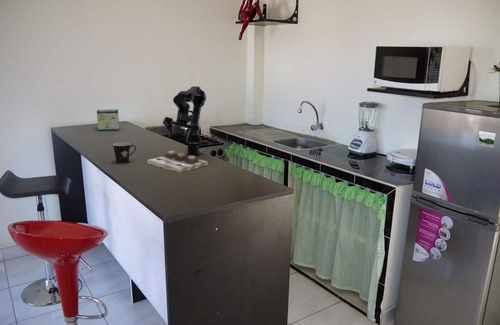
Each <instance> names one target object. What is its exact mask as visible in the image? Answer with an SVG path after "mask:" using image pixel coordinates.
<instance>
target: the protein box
mask: <svg viewBox="0 0 500 325" xmlns="http://www.w3.org/2000/svg"><path fill="white" fill-rule="evenodd" d="M96 119H97V132H119V131H120V120H119V109H97V110H96Z"/></svg>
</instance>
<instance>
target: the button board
mask: <svg viewBox="0 0 500 325" xmlns="http://www.w3.org/2000/svg"><path fill="white" fill-rule="evenodd" d="M188 156H189V155H185V157H183V158H179V157H178V153H176V152H175V155H168V153H165V154H164V155H163V156H159V157H154V158H150V159H147V160H146V164H147V163H148V165H151V164H152V166H154V165H155V167H158V168H161V167H162V169H165V170H168V171H173V172H176V173H179V174H180V173H184V172H188V171H191V170H195V169H199V168H201V167H202V168H203V167H205V166H208V164H209V163H208V161H207V160H203V159H199V158H197V157H195V160H192V161H191V160H188Z"/></svg>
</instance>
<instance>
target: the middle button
mask: <svg viewBox="0 0 500 325" xmlns="http://www.w3.org/2000/svg"><path fill="white" fill-rule="evenodd" d="M177 154H178V157H179V158H183V157H185V156H186V153H185V152H178V153H177Z"/></svg>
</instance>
